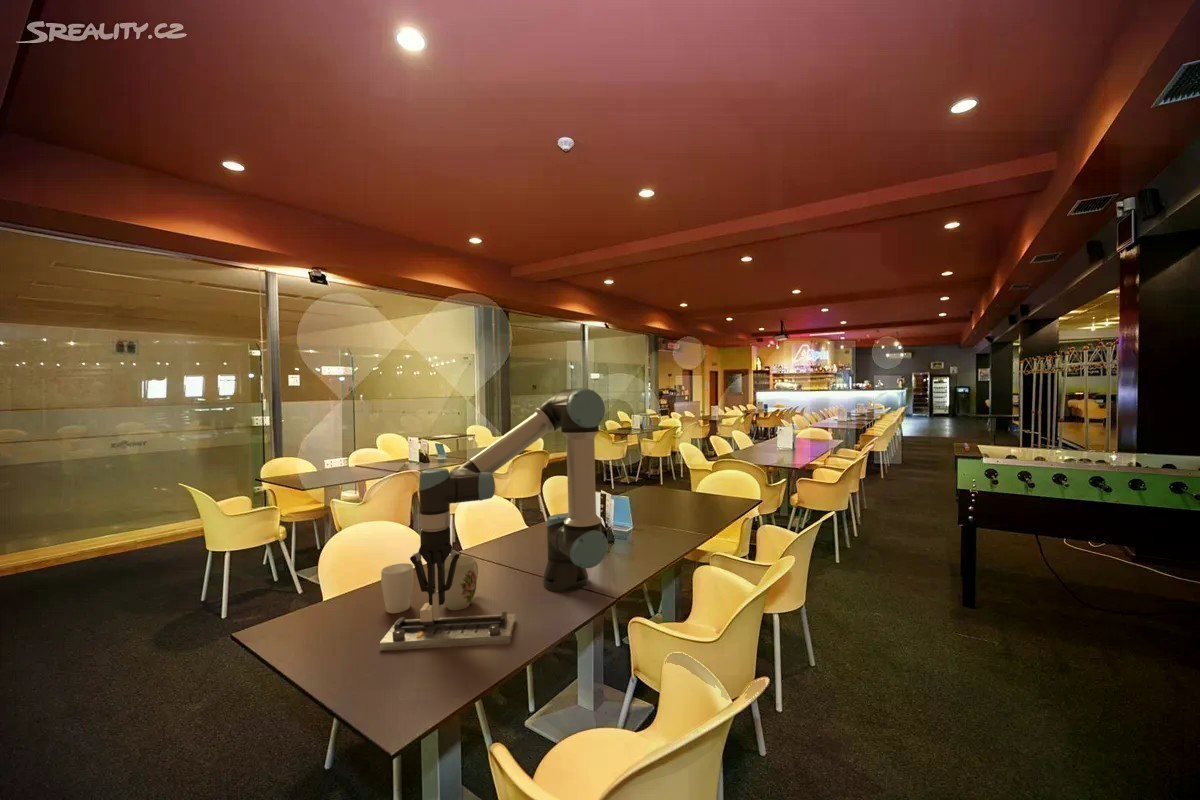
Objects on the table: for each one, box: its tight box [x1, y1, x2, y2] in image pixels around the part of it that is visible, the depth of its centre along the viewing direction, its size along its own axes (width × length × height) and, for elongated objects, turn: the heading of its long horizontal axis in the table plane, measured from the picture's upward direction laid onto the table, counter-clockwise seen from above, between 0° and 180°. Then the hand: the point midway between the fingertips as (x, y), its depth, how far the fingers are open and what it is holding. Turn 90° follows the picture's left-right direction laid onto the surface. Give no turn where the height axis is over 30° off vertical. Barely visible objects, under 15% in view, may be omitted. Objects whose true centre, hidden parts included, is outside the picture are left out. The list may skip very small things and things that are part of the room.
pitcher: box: [443, 555, 479, 611], centre depth 142 cm, size 11×18×14 cm, turn 161°
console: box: [379, 611, 516, 652], centre depth 123 cm, size 32×12×4 cm, turn 94°
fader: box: [419, 602, 435, 626], centre depth 124 cm, size 3×4×6 cm, turn 4°
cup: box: [380, 562, 415, 614], centre depth 140 cm, size 9×9×12 cm
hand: (437, 616), depth 124 cm, fingers closed
